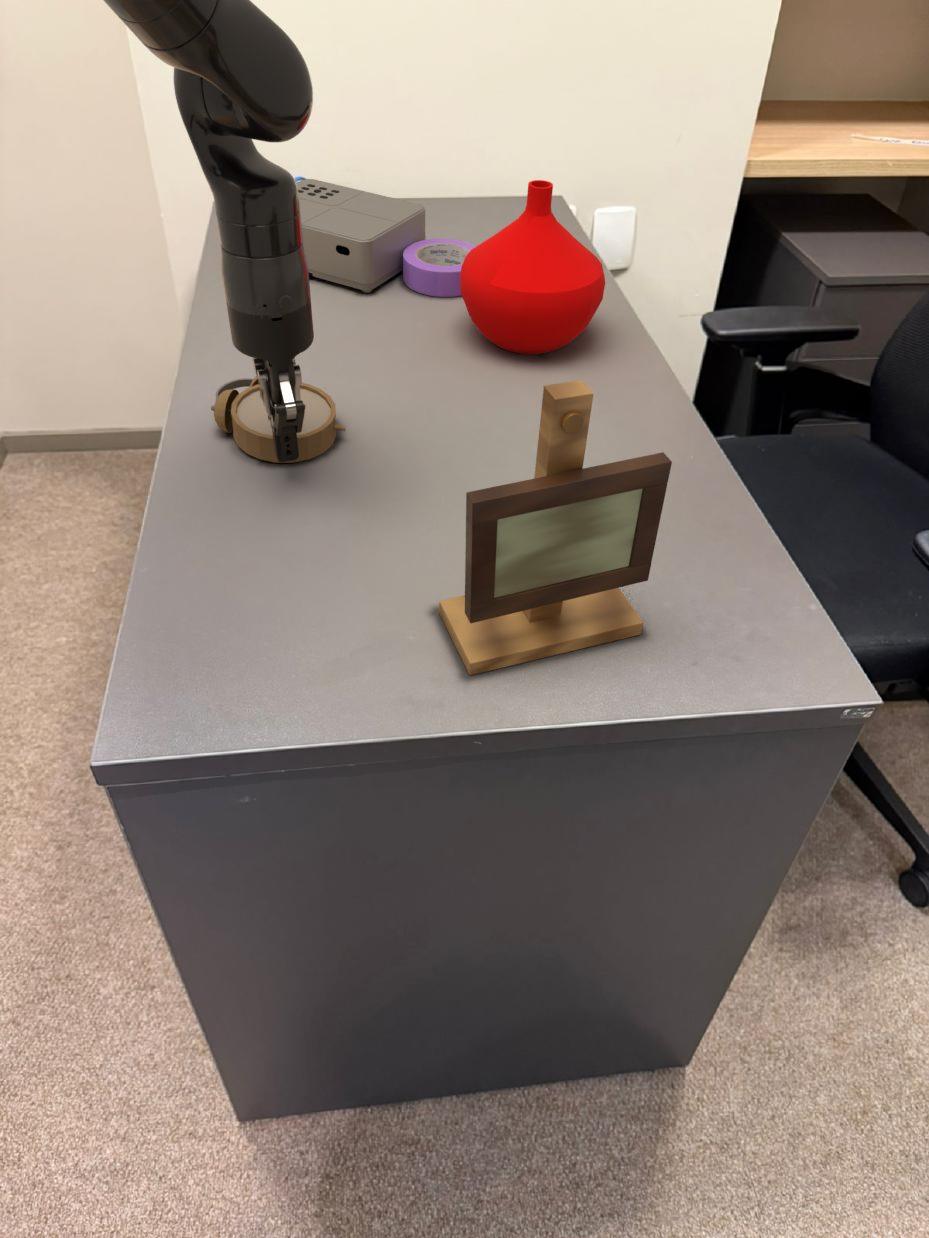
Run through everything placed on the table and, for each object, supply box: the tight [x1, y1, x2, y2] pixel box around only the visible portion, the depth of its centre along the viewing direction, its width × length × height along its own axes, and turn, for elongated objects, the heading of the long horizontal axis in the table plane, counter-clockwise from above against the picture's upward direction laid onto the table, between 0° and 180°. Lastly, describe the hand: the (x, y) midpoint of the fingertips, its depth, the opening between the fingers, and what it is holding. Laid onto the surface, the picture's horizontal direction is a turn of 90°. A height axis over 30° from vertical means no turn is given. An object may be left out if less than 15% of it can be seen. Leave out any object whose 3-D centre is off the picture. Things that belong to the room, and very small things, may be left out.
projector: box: [296, 178, 426, 294], centre depth 132 cm, size 17×22×8 cm
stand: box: [438, 379, 644, 676], centre depth 71 cm, size 16×8×23 cm, turn 110°
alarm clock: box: [210, 375, 347, 464], centre depth 99 cm, size 11×5×15 cm
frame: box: [464, 451, 673, 623], centre depth 70 cm, size 16×1×12 cm, turn 110°
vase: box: [460, 179, 606, 355], centre depth 112 cm, size 18×18×19 cm
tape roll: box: [402, 238, 477, 298], centre depth 130 cm, size 12×12×4 cm
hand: (287, 457), depth 92 cm, fingers closed
